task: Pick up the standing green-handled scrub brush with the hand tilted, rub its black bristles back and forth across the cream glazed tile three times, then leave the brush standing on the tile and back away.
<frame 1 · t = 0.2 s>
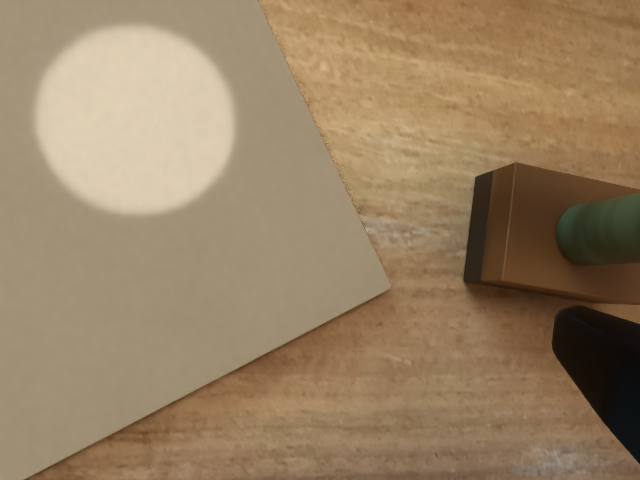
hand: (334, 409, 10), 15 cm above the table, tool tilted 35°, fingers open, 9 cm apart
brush: (535, 240, 29), on the table
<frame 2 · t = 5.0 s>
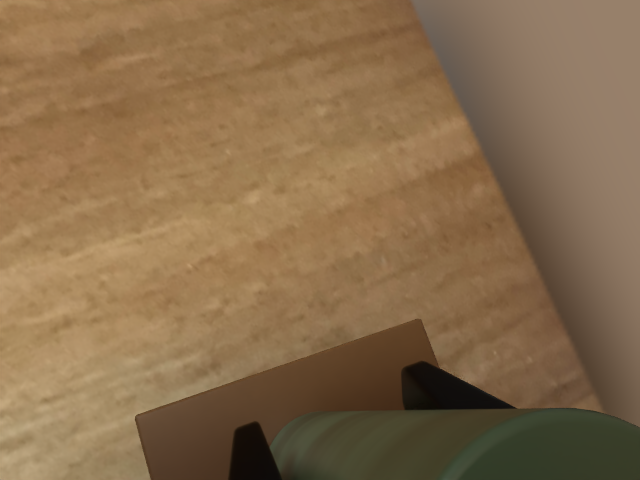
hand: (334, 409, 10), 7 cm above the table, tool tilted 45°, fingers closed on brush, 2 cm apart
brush: (300, 460, 17), on the table, touching gripper
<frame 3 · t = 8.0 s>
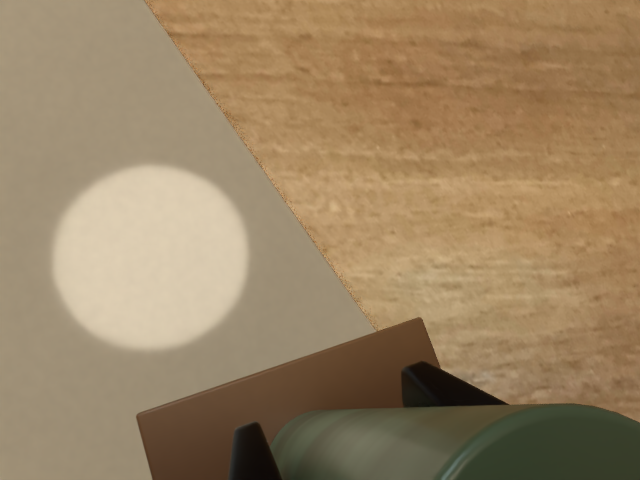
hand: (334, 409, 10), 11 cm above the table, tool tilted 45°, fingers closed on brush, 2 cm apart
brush: (301, 459, 17), point 4 cm above the table, touching gripper
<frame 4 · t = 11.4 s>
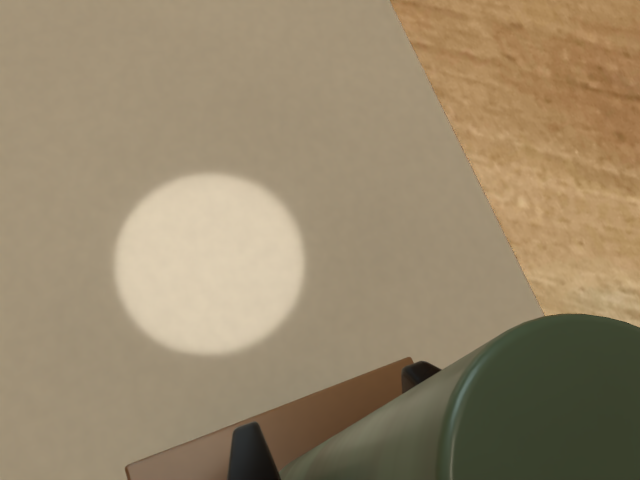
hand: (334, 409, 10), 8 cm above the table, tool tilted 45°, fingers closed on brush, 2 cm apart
tile: (128, 10, 21), on the table
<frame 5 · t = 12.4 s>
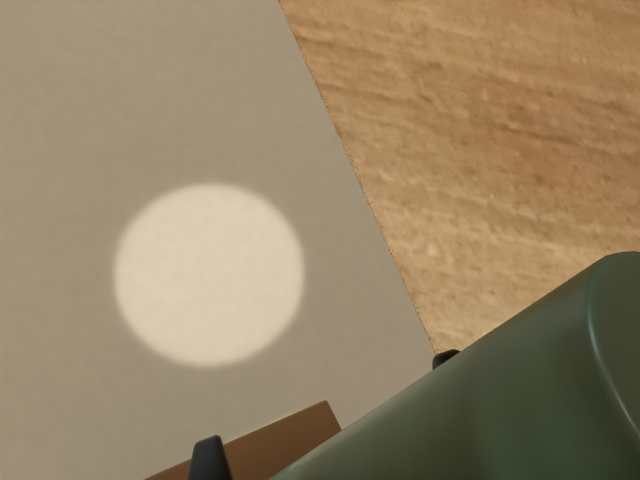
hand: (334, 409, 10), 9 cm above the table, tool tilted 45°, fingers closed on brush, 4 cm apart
tile: (28, 56, 21), on the table
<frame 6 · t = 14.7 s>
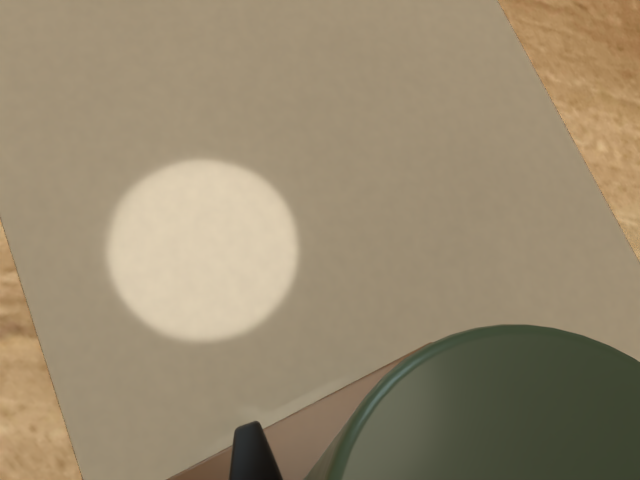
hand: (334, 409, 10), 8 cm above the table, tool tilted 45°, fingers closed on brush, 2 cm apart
when the fingers open (8 cm above the table, at t = 18.2 s): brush stays where it is, resting on tile.
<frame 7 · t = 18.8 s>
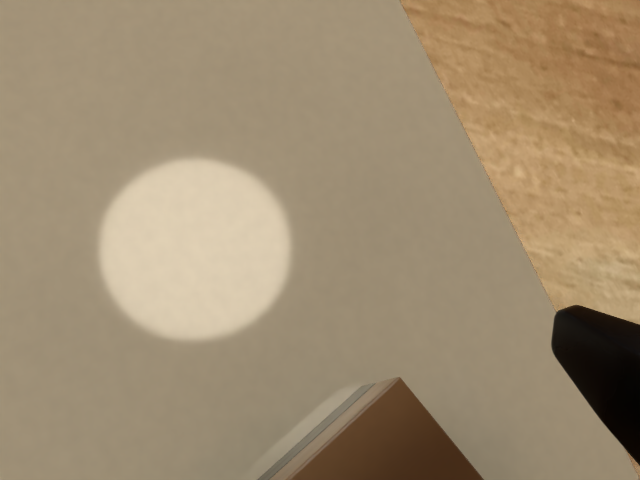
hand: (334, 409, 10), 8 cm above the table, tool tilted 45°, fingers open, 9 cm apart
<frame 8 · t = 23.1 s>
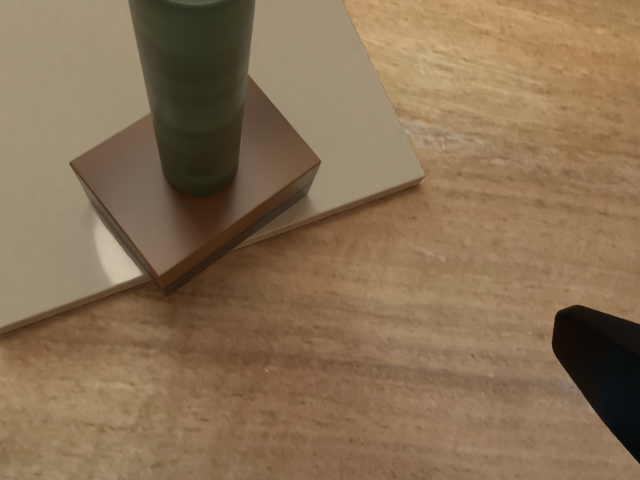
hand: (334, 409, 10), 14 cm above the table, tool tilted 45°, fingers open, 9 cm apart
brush: (201, 195, 24), point 1 cm above the table, touching tile
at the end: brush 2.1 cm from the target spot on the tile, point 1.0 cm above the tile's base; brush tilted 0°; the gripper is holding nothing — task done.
